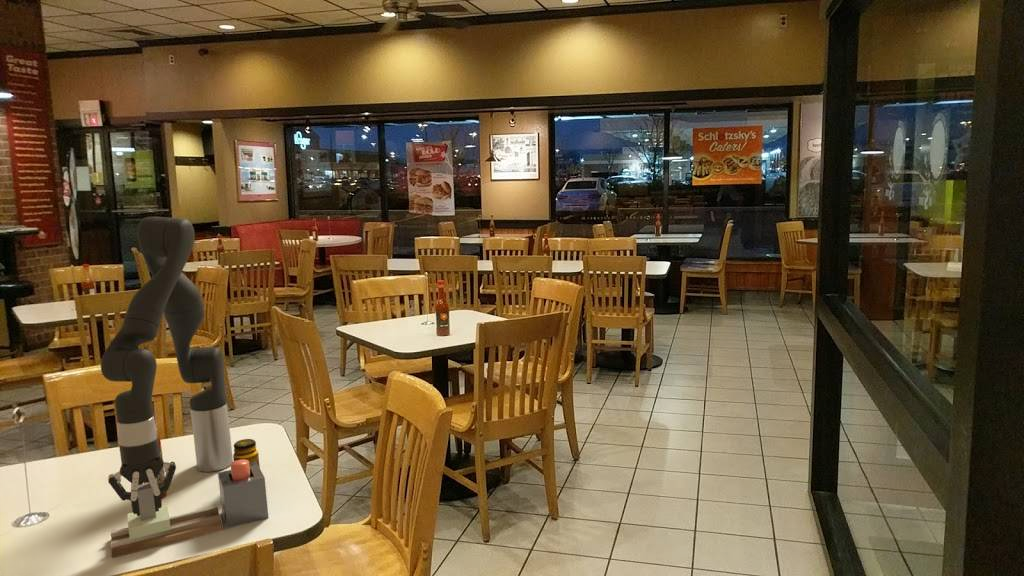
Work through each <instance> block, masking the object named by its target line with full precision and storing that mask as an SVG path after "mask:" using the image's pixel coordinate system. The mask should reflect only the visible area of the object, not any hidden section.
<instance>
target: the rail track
mask: <svg viewBox="0 0 1024 576" xmlns="http://www.w3.org/2000/svg"><path fill="white" fill-rule="evenodd" d="M169 519H170V527H171V530H167V531H163V532H159V533H155V534H151V535H147V536H143V537H139V538H135V539H131V540H130V538H129V530H128V527H124V528H120V529H115V530H112V531H110V537H111V539H110V549H111V550H110V553H111V558H113V559H114V558H116V557H121V556H125V555H128V554H133V553H136V552H140V551H144V550H148V549H151V548H155V547H159V546H160V547H161V546H163V545H168V544H172V543H175V542H180V541H184V540H188V539H191V538H194V537H199V536H203V535H207V534H210V533H215V532H218V531H223V529H224V528H223V521H222V517H221V514H220V512H219V506H218V505H215V506H212V507H208V508H207V507H206V508H204V509H199V510H195V511H191V512H186V513H183V514H179V515H174V516H169Z"/></svg>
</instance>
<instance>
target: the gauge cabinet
mask: <svg viewBox="0 0 1024 576" xmlns="http://www.w3.org/2000/svg"><path fill="white" fill-rule="evenodd" d="M249 468H250V478H245V479H241V480H237V481H232V474H231V469H229V470H228V469H227V470H224V471H220V472H218V473H217V478H218V484H219V485H218V486H219V496H220V503H221V513H222V515H223V518H224V522H225V525H226V528H227V529H230V528H234V527H238V526H242V525H247V524H251V523H253V522H258V521H262V520H266V519H269V509H268V500H267V499H268V498H267V490H266V487H265V486H266V477H265V476H264V474H263V472H262V470H261V467H260V468H259V466H258V464H255V465H251V466H249Z"/></svg>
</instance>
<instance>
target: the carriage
mask: <svg viewBox="0 0 1024 576" xmlns="http://www.w3.org/2000/svg"><path fill="white" fill-rule="evenodd" d="M153 493H154V492H153V488H152V487H151V484H150V482H149V483H142V484H140V485H138V491H137V497H138V502H139V509H140V516H137V514H134V513H133V512H130V513H127V528H128V530H129V538H130V540H131V539H135V538H139V537H143V536H147V535H151V534H155V533H159V532H163V531H167V530H171V527H170V519H169V518H170V515H169V508H168V507H169V506H168V504H164V505H162V507H161V508H159V511H157V512H156V511H155V503H154V496H153Z"/></svg>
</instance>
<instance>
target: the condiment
mask: <svg viewBox="0 0 1024 576" xmlns="http://www.w3.org/2000/svg"><path fill="white" fill-rule="evenodd" d="M232 456H233V462H234V461H237V460H248V461H249V466H251V465H255V464H258V466H259V468H260V469H261V466H260V455H259V450H258V449H257V442H256V441H255V439H254V438H253V439H252V438H245V439H240V440H237V441H236V442H235V443H234V444H233V454H232ZM265 487H266V485H265Z"/></svg>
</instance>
